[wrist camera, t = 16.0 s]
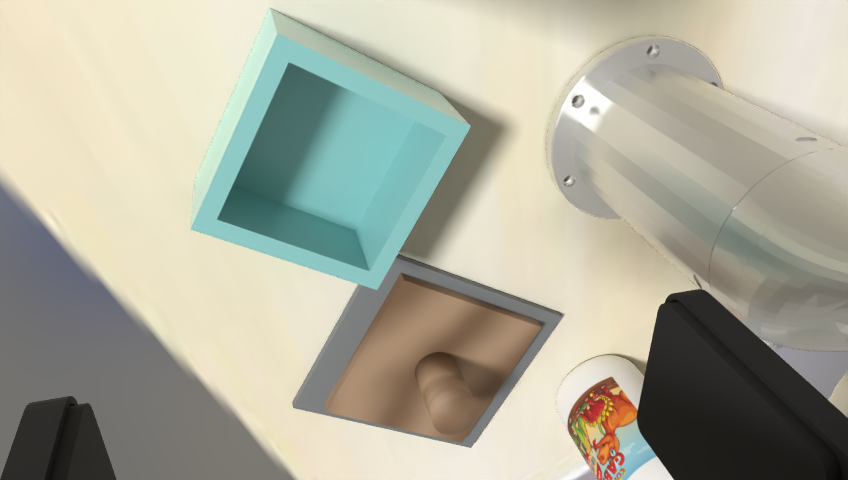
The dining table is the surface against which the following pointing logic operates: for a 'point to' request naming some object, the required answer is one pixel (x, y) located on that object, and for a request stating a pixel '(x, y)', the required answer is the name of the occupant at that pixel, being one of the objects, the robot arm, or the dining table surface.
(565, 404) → the milk bottle
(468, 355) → the lid
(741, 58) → the dining table surface
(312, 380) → the mat
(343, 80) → the open square box
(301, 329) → the dining table surface
